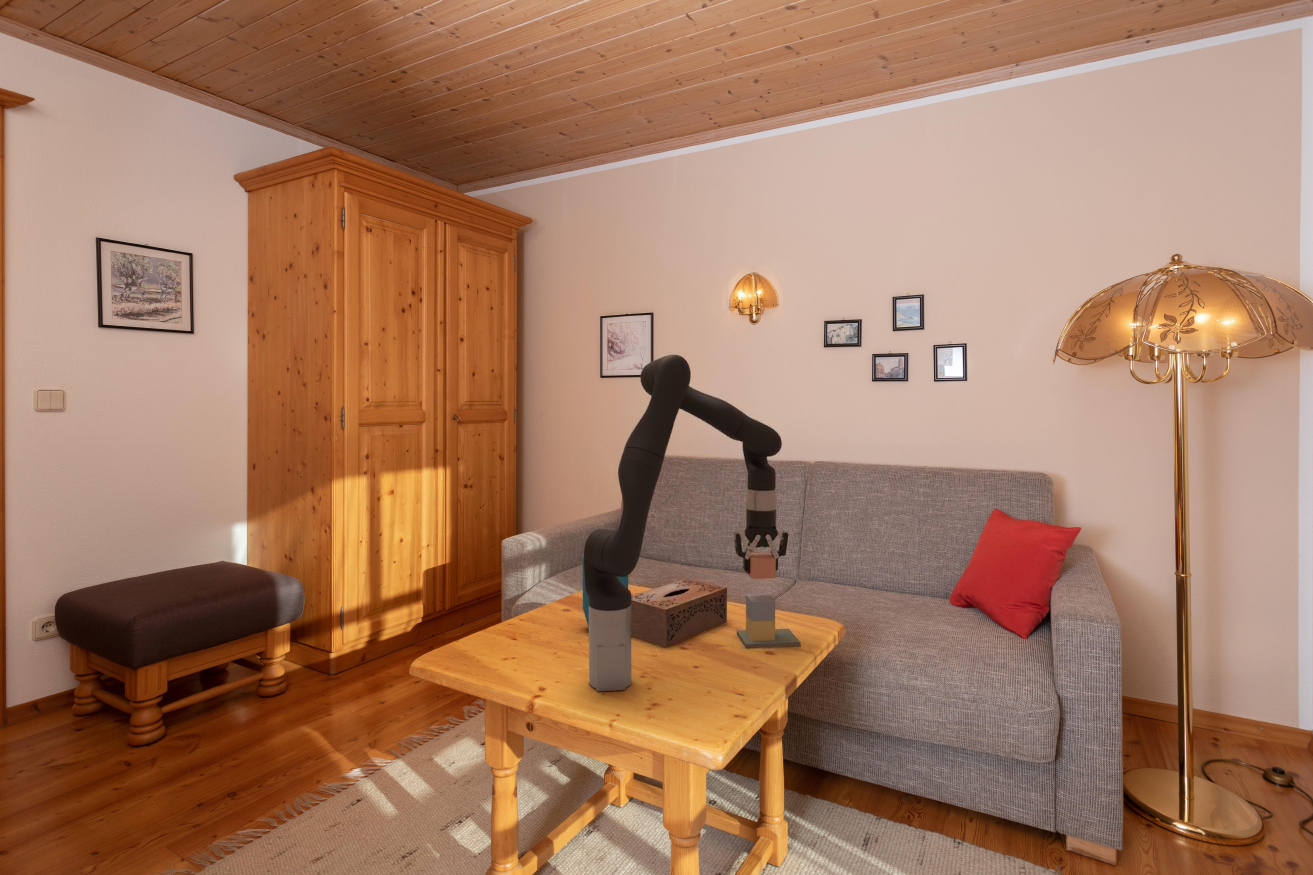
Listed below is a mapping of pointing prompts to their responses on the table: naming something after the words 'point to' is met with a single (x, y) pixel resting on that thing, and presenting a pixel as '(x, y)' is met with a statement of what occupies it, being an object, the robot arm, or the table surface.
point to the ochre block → (760, 630)
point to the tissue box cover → (677, 612)
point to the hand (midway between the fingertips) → (760, 572)
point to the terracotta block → (762, 566)
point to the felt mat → (781, 640)
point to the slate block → (760, 607)
